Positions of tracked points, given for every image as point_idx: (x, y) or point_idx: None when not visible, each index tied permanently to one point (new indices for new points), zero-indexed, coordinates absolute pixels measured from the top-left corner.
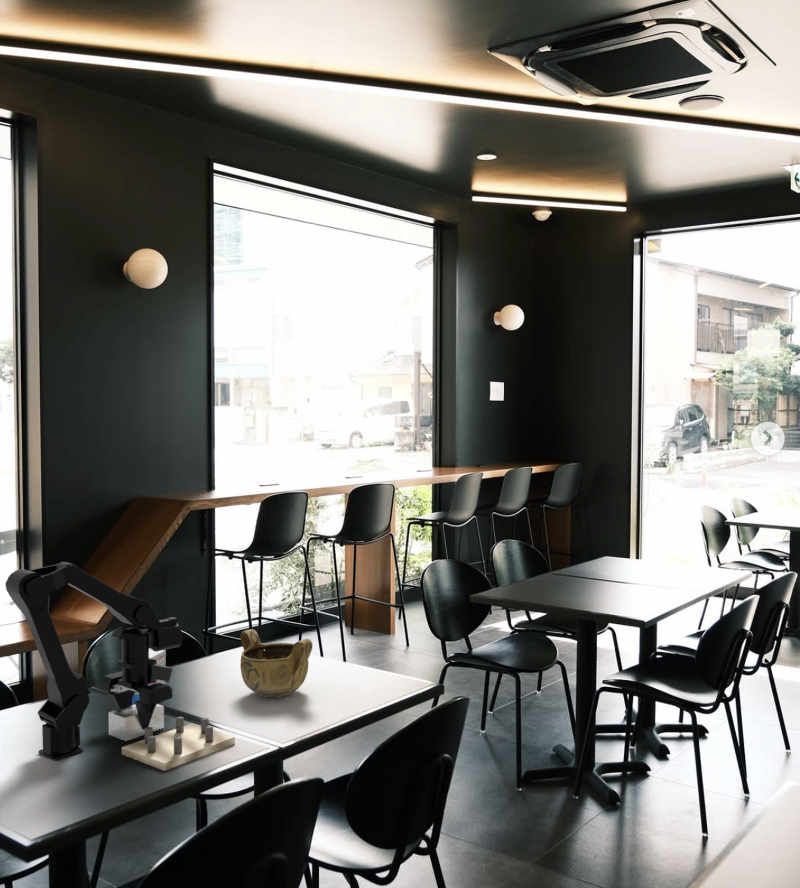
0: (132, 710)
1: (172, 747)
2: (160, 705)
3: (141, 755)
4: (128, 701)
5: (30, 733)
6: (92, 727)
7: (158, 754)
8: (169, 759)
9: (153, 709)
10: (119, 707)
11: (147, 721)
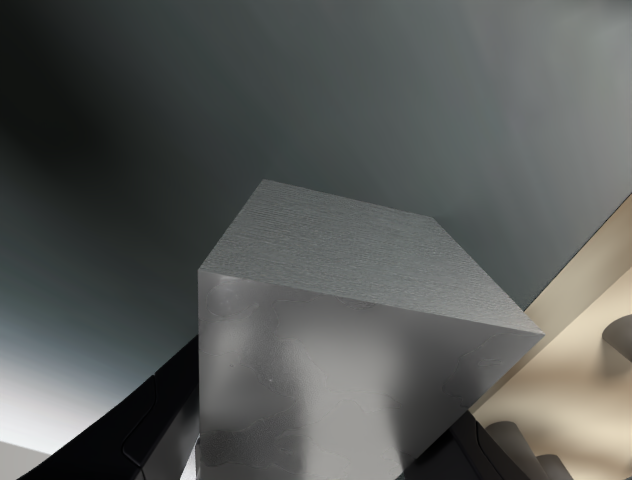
0: (311, 457)
1: (618, 432)
2: (495, 336)
3: None
4: (160, 466)
5: (6, 416)
6: (92, 330)
7: (576, 464)
8: (624, 472)
9: (515, 473)
10: (184, 467)
11: None
